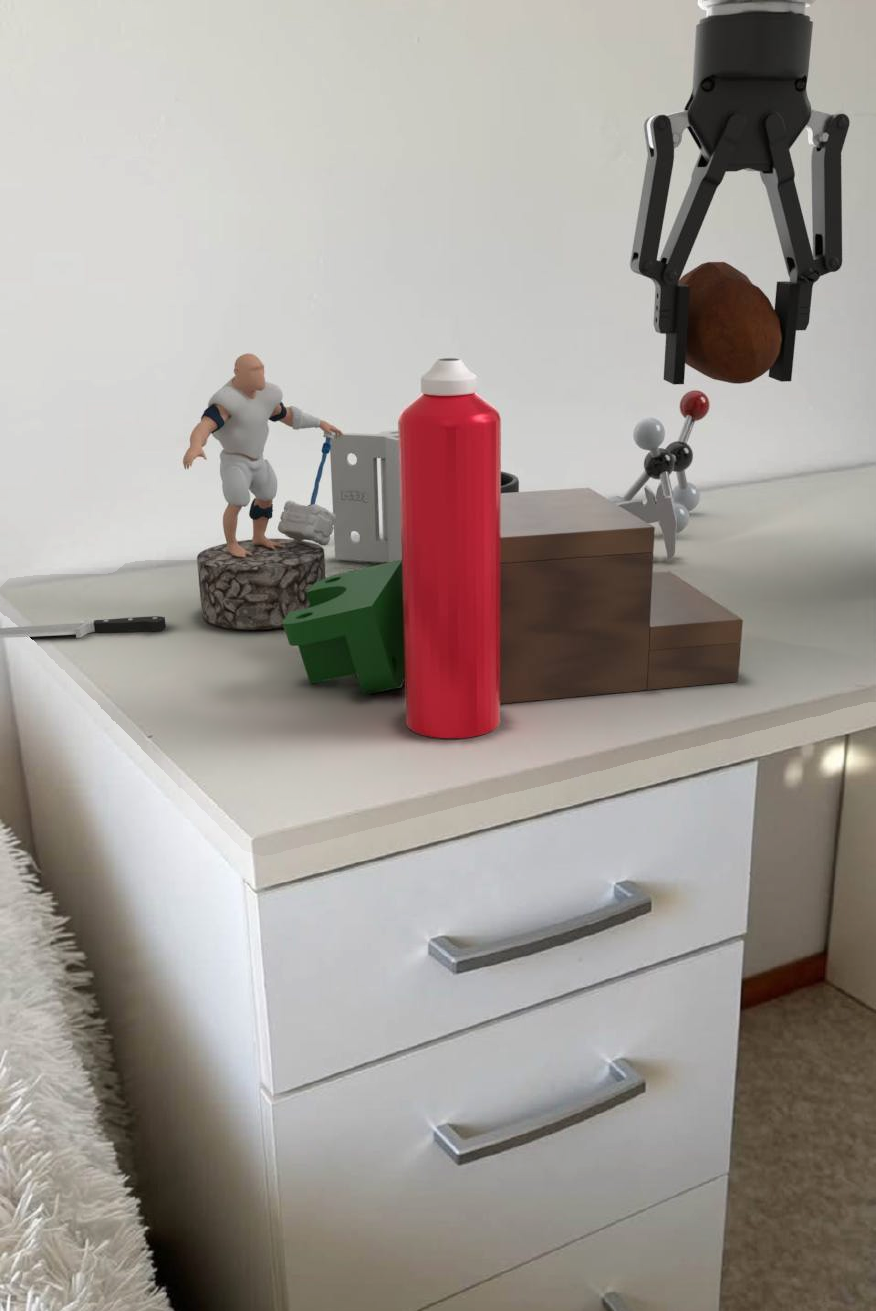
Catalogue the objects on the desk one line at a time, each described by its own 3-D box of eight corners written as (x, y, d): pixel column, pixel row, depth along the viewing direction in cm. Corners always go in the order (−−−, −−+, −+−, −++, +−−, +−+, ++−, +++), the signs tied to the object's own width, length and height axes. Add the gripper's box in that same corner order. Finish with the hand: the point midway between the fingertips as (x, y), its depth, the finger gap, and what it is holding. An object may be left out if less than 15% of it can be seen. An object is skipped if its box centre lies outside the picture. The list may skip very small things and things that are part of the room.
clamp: (349, 714, 96) (325, 582, 96) (434, 696, 95) (409, 562, 95) (291, 704, 84) (263, 554, 84) (386, 683, 83) (358, 531, 83)
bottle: (457, 699, 86) (453, 350, 77) (519, 722, 82) (522, 358, 73) (387, 721, 82) (374, 359, 74) (448, 746, 79) (443, 368, 70)
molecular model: (594, 527, 125) (598, 402, 121) (652, 502, 134) (658, 385, 130) (680, 538, 121) (687, 409, 117) (734, 511, 130) (743, 391, 126)
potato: (712, 401, 100) (706, 282, 95) (639, 374, 109) (630, 265, 105) (808, 376, 101) (805, 258, 97) (727, 352, 111) (722, 244, 107)
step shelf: (667, 627, 98) (675, 481, 94) (738, 681, 88) (751, 520, 84) (443, 646, 95) (441, 496, 91) (488, 705, 85) (489, 538, 80)
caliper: (675, 559, 116) (679, 481, 113) (674, 563, 115) (678, 484, 112) (430, 551, 120) (429, 475, 117) (427, 554, 119) (426, 478, 116)
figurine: (232, 648, 95) (209, 368, 88) (148, 626, 100) (119, 359, 93) (376, 601, 106) (367, 346, 98) (293, 583, 111) (278, 339, 103)
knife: (-53, 636, 97) (-47, 628, 99) (-51, 646, 98) (-45, 637, 99) (163, 623, 99) (165, 615, 100) (164, 632, 99) (166, 624, 101)
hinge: (331, 558, 117) (326, 432, 113) (378, 547, 120) (374, 424, 116) (453, 586, 108) (452, 451, 104) (500, 573, 112) (501, 442, 107)
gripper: (879, 18, 97) (840, 370, 107) (591, 18, 95) (579, 377, 105) (926, 7, 90) (881, 383, 100) (617, 6, 88) (602, 391, 98)
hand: (727, 379), depth 102 cm, fingers closed on potato, 7 cm apart
